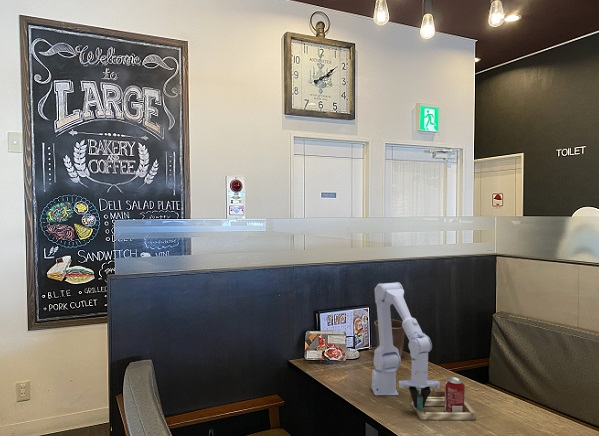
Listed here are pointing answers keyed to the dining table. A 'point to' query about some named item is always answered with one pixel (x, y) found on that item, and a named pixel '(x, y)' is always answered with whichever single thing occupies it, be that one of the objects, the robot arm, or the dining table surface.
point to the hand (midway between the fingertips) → (418, 406)
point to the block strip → (429, 394)
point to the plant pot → (394, 335)
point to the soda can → (454, 395)
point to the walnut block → (438, 392)
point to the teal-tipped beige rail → (466, 415)
